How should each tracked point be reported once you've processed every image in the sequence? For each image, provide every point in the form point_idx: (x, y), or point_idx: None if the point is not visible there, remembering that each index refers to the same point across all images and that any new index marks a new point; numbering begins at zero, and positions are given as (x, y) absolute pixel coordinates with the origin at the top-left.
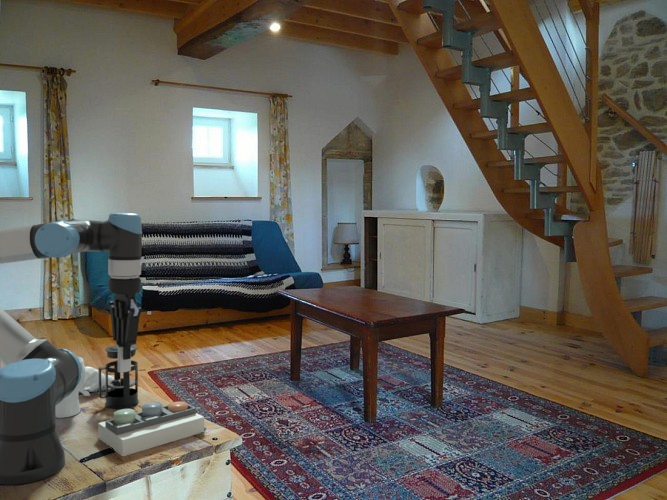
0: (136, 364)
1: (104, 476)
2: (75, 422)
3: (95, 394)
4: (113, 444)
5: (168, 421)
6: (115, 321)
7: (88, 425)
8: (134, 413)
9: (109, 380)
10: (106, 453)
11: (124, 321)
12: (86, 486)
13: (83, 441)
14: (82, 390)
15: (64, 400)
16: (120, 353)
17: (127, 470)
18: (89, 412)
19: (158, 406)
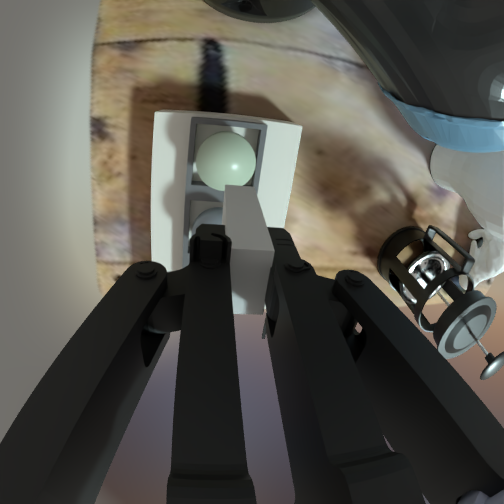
0: (420, 325)
1: (110, 49)
2: (403, 143)
3: (464, 245)
4: (208, 112)
5: (181, 243)
6: (415, 396)
7: (371, 149)
8: (202, 179)
9: (466, 279)
10: (204, 92)
11: (174, 454)
12: (101, 14)
13: (304, 93)
14: (481, 231)
15: (458, 157)
16: (227, 226)
17: (100, 91)
18: (420, 191)
19: None
